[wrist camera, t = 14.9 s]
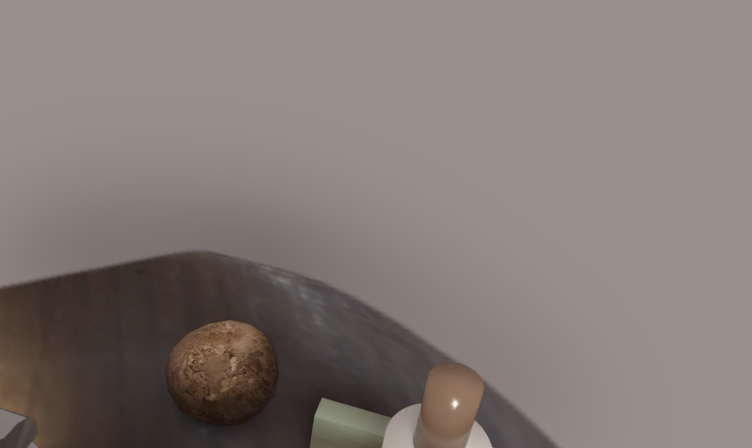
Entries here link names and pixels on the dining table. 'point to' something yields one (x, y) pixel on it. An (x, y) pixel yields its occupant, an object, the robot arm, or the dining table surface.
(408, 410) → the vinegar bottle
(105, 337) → the dining table surface
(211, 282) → the dining table surface
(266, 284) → the dining table surface
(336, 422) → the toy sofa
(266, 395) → the mushroom
